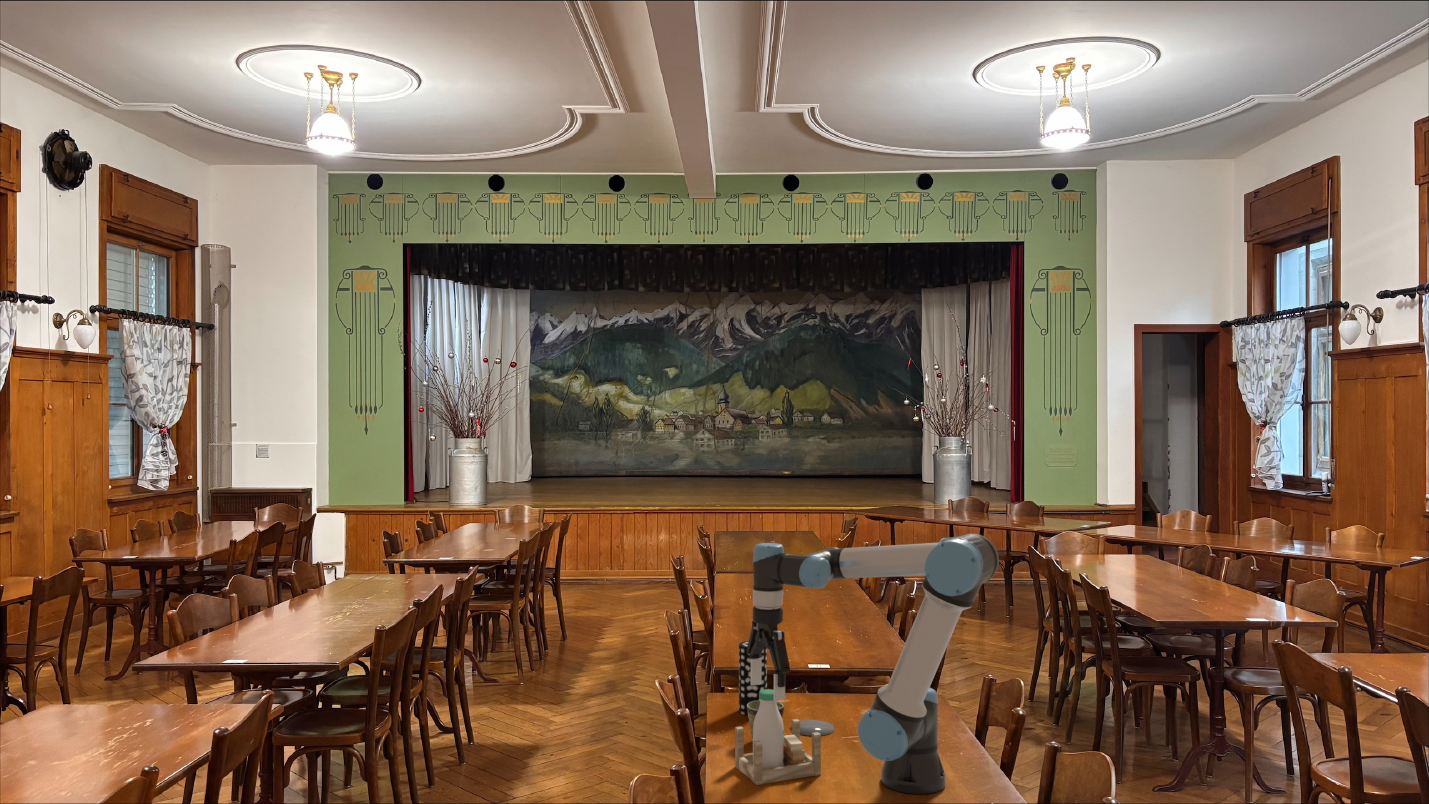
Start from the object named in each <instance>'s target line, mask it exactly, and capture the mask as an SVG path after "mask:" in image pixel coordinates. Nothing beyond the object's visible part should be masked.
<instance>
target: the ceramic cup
mask: <svg viewBox="0 0 1429 804" xmlns="http://www.w3.org/2000/svg"><path fill="white" fill-rule="evenodd" d="M759 706H760V701H759V700H757V701H752V702H750V703H748V704H747V711H748V715H747V717H748V722H749V726H750V733H751V739H752V741H753V724H754V719H755V716H756V714H757V712H758V709H759ZM777 707H778V710H779V713H780V715H781V717H782V718H783V716H784V709H785V705H784V704H783V703H782V702H780V701H777Z"/></svg>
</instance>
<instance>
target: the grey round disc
mask: <svg viewBox="0 0 1429 804" xmlns="http://www.w3.org/2000/svg"><path fill="white" fill-rule="evenodd" d="M790 729H791V730H792V725H791V728H790ZM815 732H818V733H820V734H821V737H823V736H827V735H831V734H832V733H833V732H835V727H834V724H832V723H830V722H827V721H825V720H824V721H823V720H816V719H806V720H800V736H801V735H802V736H807V737H812V733H815Z"/></svg>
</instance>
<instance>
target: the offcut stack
mask: <svg viewBox="0 0 1429 804" xmlns="http://www.w3.org/2000/svg"><path fill="white" fill-rule="evenodd" d="M803 744H804V743H803V742H802V741H801V739H800V740H799V739H798V738H797V737H796V736H795V735H792V734H789V735H788V734H787V735H785V734H784V766H787V765H794V764H800V763H806V761H805V752H806V751H805V749H804V745H803Z"/></svg>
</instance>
